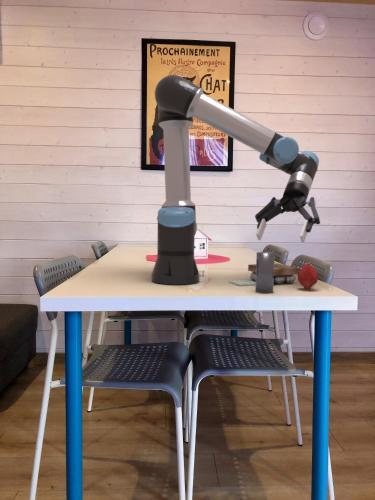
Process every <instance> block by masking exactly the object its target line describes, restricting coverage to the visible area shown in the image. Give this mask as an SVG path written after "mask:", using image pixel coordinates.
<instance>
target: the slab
mask: <svg viewBox="0 0 375 500" xmlns="http://www.w3.org/2000/svg"><path fill="white" fill-rule="evenodd" d="M247 268H248V270H247V271H248V272H251V273H252V272H255V273H256V263H255V264H248V267H247ZM299 271H300V268H299V267H296V266H291V265H286V264H282V263H275V262H274V276H275V275H294V276H295V275H298V272H299Z"/></svg>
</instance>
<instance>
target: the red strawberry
mask: <svg viewBox="0 0 375 500" xmlns="http://www.w3.org/2000/svg"><path fill="white" fill-rule="evenodd" d="M318 279H319V275H318V271H317V270H316V268H314V267H313V266H312V265H311V262H307V263H306V264H305V265H304V266H302V267H301V268H300V269H299V272H298V274H297V281H298V283H299V285H300V286H301V287H303V288H304V289H305V290H307V291H308V290H310V289H311V288H313V287H314V286H315V285H316V284H317V282H318V281H319V280H318Z"/></svg>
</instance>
